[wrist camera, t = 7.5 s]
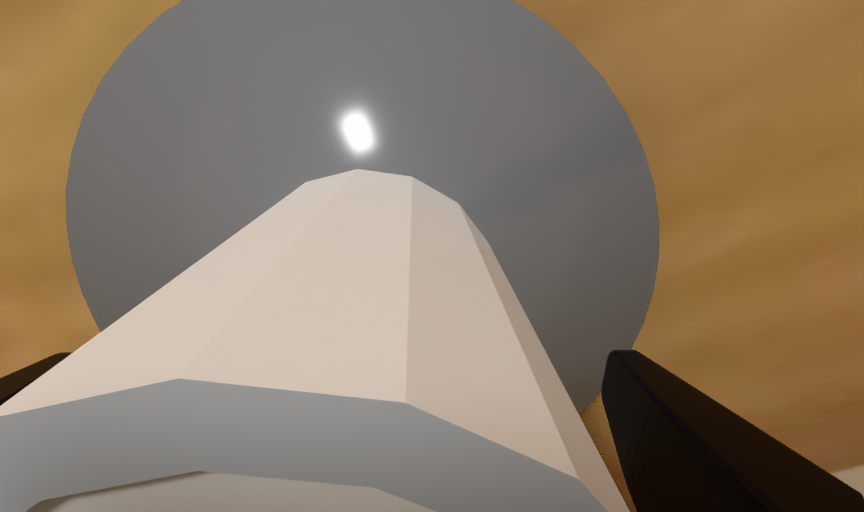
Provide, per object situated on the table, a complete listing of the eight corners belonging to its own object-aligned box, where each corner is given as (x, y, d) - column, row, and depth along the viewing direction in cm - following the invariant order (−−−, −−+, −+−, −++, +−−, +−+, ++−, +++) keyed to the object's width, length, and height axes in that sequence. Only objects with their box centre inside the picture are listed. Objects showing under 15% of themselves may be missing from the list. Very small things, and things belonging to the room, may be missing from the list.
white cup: (587, 280, 10) (837, 672, 4) (392, 443, 12) (353, 861, 6) (343, 58, 8) (61, 137, 2) (161, 300, 10) (-245, 705, 4)
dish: (696, -37, 9) (735, -47, 8) (593, 451, 14) (606, 485, 13) (10, -35, 9) (-50, -45, 8) (178, 454, 14) (158, 488, 13)
